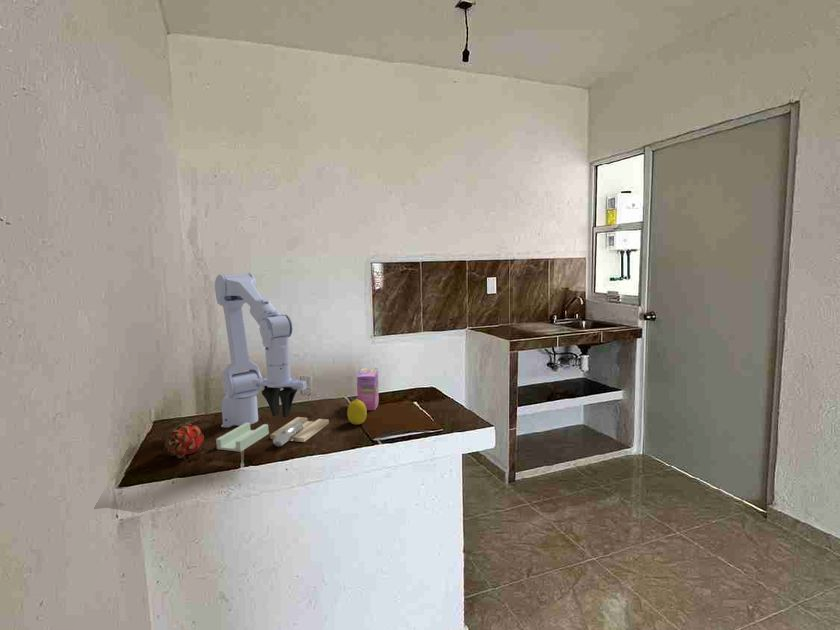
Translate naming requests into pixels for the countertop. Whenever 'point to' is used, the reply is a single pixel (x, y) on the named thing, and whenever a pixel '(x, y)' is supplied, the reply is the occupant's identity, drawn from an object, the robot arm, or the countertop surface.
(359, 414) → the lemon
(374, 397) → the box
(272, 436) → the grooved wooden board
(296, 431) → the axle
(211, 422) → the countertop surface
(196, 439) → the dragon fruit
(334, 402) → the countertop surface
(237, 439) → the cradle
